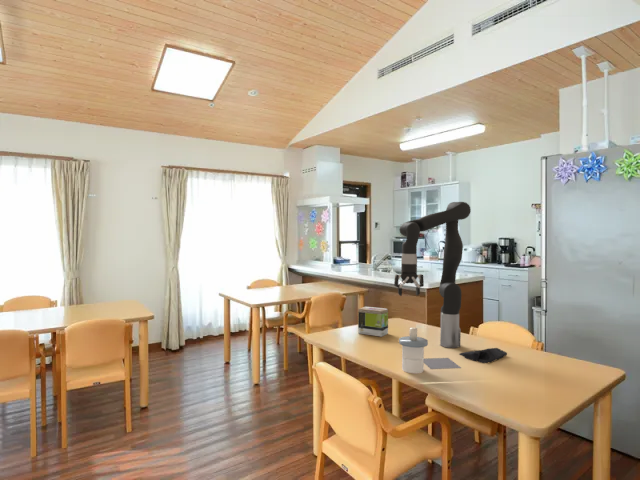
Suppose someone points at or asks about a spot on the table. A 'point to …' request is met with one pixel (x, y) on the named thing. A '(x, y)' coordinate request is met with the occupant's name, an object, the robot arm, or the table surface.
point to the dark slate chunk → (484, 355)
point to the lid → (413, 340)
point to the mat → (440, 363)
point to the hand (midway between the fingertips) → (408, 295)
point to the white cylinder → (412, 359)
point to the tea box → (373, 321)
